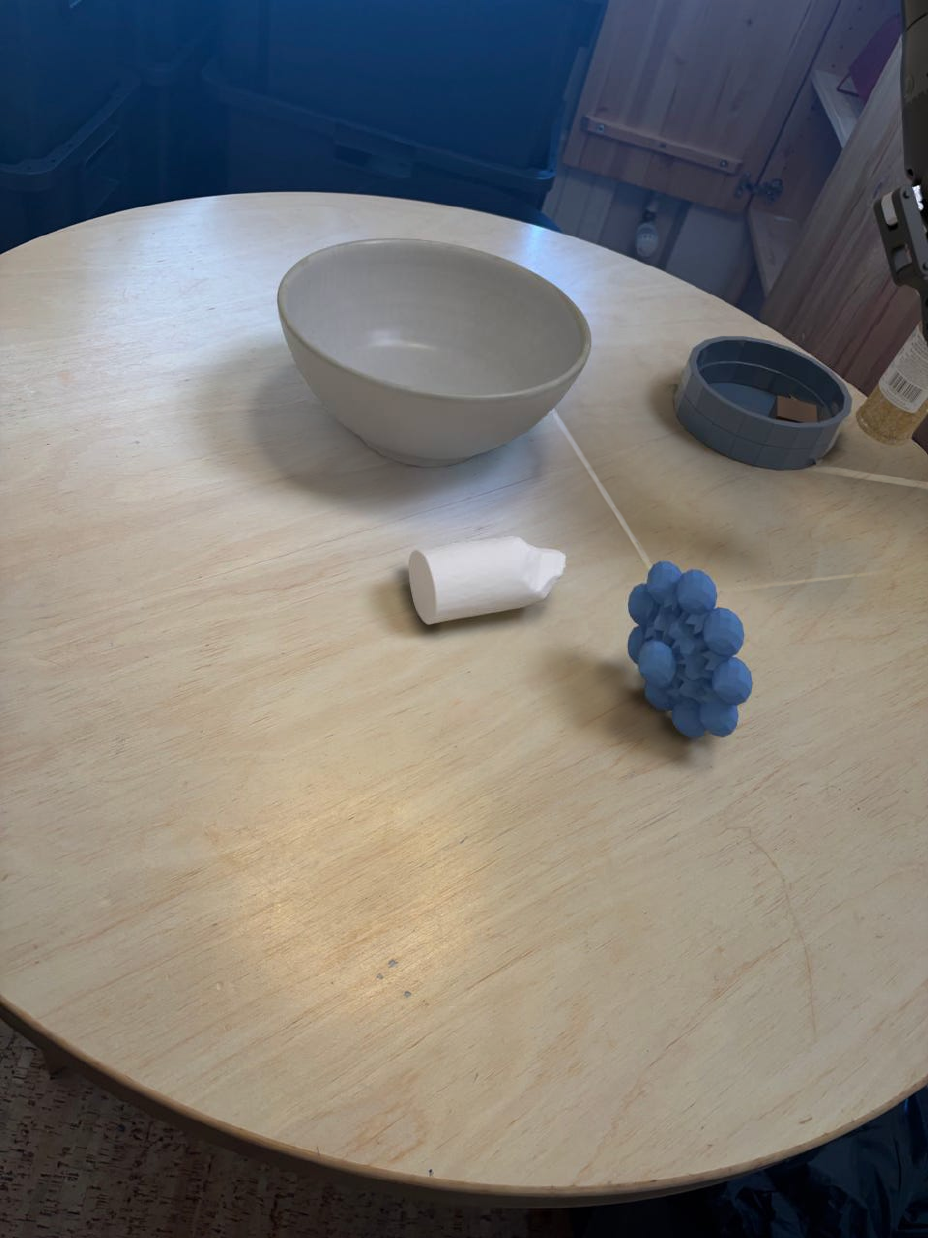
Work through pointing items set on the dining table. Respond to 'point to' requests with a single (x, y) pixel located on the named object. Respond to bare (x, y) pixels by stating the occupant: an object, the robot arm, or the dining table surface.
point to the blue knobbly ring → (688, 650)
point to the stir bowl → (759, 402)
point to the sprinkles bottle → (899, 395)
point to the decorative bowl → (430, 345)
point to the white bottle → (481, 577)
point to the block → (793, 411)
